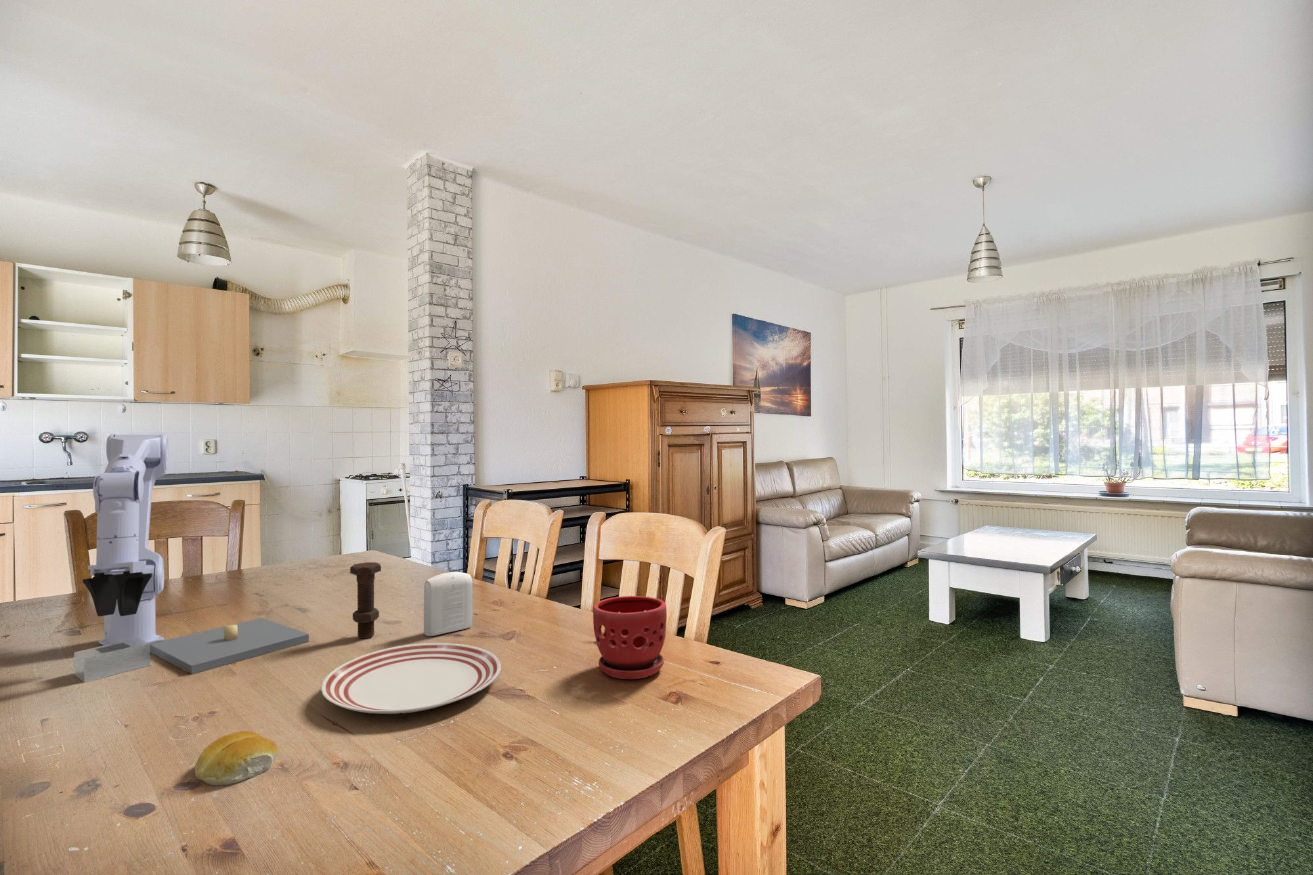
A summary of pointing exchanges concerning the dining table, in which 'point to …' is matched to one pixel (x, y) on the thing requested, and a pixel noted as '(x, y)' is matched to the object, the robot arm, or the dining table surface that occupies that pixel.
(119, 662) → the block with square hole
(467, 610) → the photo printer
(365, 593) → the bolt
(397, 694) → the dinner plate
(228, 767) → the bread roll
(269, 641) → the pin board
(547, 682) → the dining table surface
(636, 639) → the plant pot
